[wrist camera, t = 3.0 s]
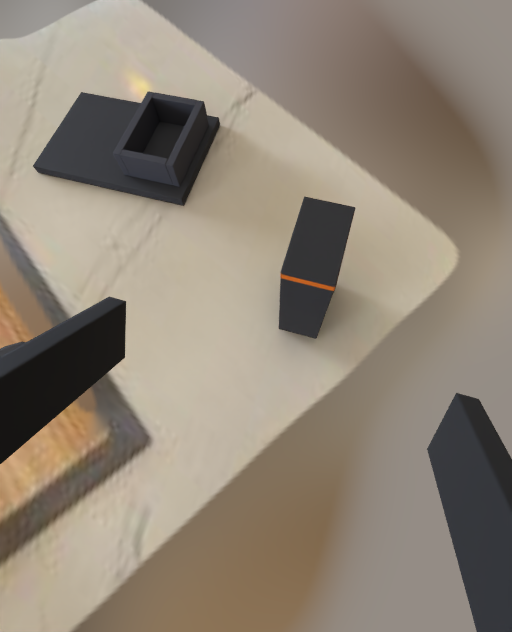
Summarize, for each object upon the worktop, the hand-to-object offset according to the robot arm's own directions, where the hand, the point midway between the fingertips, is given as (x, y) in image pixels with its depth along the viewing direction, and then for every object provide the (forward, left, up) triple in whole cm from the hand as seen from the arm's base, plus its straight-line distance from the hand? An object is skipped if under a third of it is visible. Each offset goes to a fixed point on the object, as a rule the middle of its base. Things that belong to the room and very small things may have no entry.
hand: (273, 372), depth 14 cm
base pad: (+34, +2, -17) cm, 38 cm away
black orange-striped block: (+8, -7, -17) cm, 20 cm away
